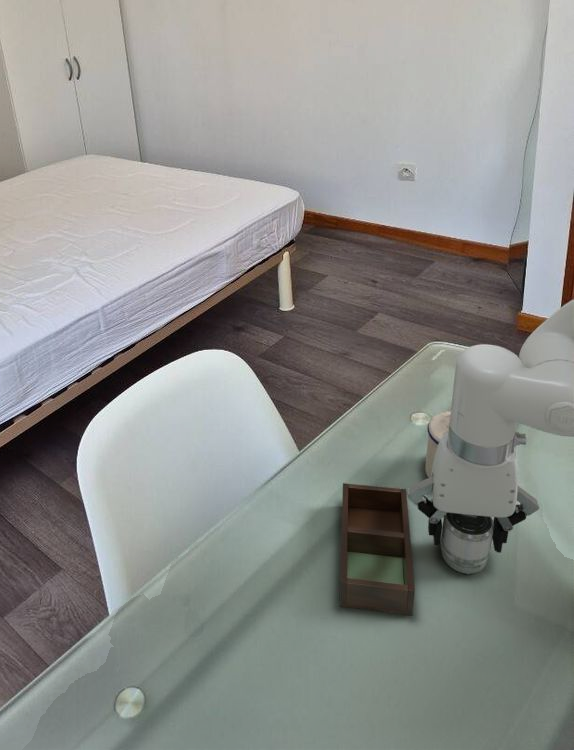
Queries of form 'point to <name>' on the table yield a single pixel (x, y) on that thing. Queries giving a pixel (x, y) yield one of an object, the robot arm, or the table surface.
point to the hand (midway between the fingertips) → (465, 540)
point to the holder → (376, 550)
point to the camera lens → (466, 541)
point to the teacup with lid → (435, 437)
